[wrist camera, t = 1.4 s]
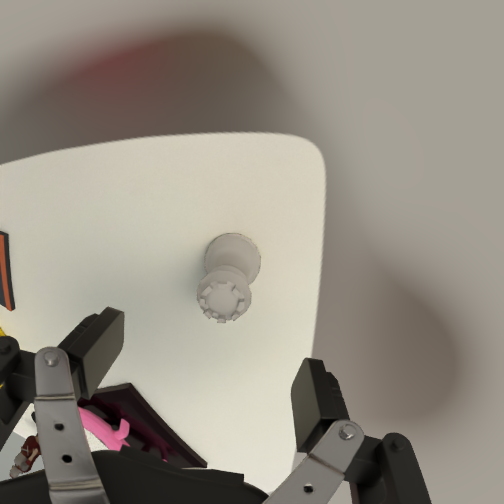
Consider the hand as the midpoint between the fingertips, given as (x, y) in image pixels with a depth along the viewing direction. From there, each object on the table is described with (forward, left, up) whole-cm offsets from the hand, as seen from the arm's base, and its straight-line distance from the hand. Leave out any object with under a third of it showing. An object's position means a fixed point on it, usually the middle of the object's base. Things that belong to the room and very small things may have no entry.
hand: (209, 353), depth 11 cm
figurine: (+41, -27, -13) cm, 51 cm away
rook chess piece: (0, 0, -13) cm, 13 cm away
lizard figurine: (+30, -8, -13) cm, 33 cm away
